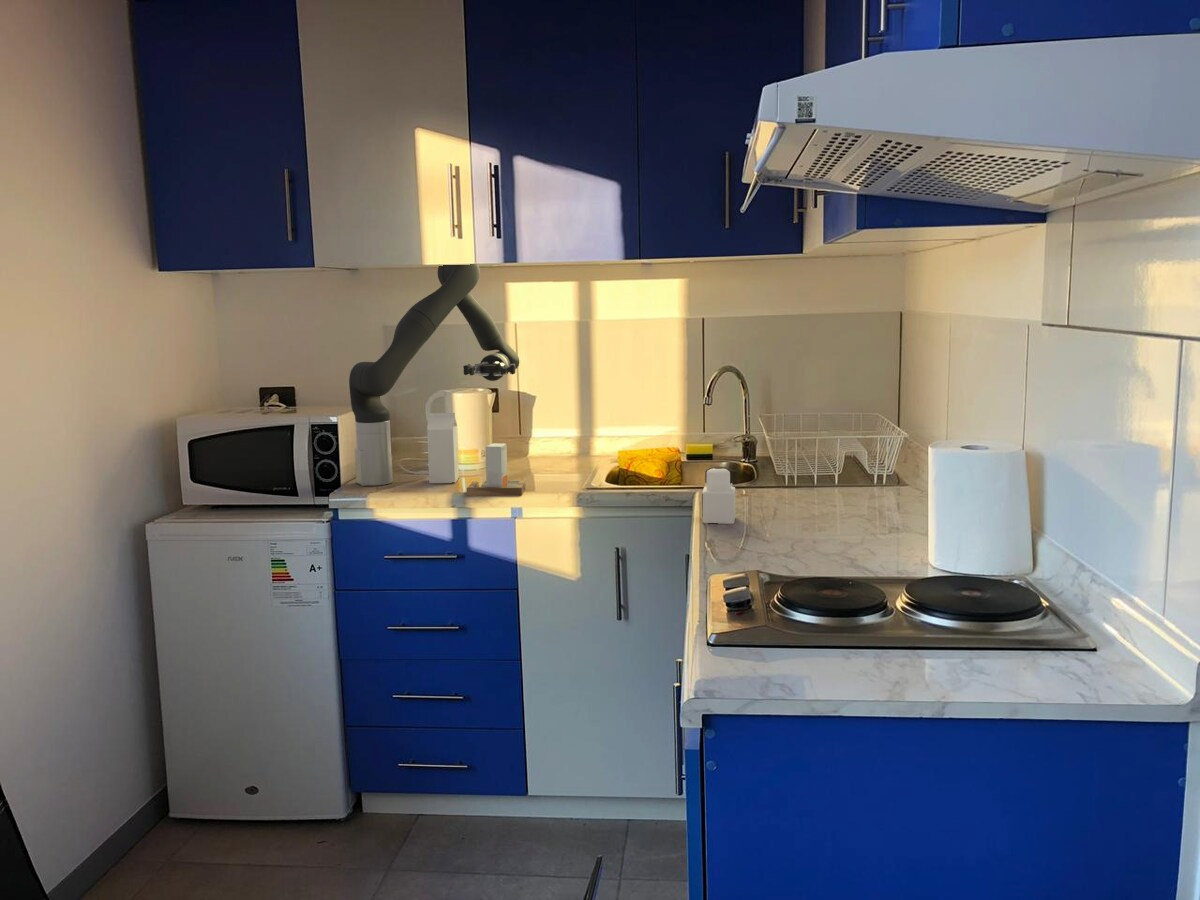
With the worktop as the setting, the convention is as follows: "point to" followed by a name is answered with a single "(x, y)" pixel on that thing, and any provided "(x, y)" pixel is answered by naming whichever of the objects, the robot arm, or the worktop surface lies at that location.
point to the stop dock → (497, 489)
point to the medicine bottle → (718, 496)
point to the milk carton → (442, 448)
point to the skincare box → (496, 465)
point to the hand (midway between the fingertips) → (486, 371)
